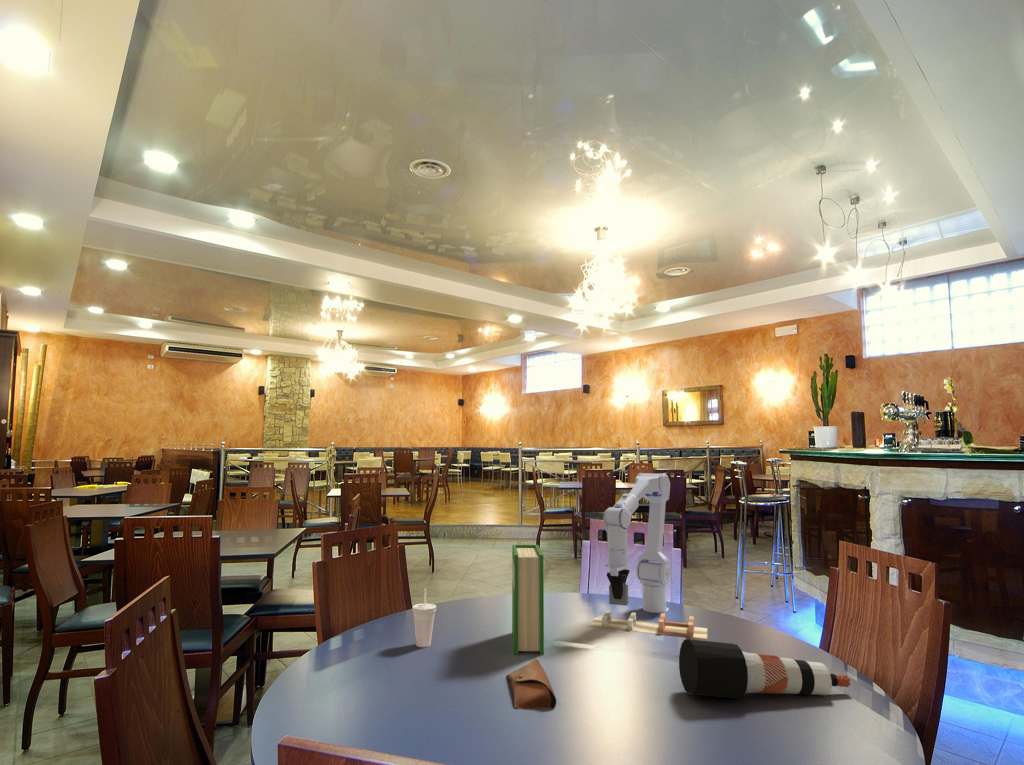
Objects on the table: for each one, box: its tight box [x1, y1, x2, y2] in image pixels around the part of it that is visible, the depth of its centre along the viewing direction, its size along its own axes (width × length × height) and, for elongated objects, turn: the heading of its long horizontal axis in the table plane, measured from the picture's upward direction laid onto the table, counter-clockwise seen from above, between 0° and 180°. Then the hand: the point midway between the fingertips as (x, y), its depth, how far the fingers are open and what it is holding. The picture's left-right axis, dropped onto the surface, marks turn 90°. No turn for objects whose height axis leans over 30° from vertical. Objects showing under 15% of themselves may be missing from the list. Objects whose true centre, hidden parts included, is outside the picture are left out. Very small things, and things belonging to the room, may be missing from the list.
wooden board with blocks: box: [588, 609, 708, 641], centre depth 154 cm, size 10×32×4 cm, turn 70°
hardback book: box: [511, 544, 545, 656], centre depth 145 cm, size 18×7×24 cm, turn 2°
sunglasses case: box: [505, 657, 557, 710], centre depth 114 cm, size 18×7×7 cm
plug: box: [608, 584, 630, 606], centre depth 158 cm, size 4×5×6 cm
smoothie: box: [411, 588, 437, 648], centre depth 143 cm, size 6×6×14 cm
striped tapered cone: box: [678, 638, 851, 699], centre depth 112 cm, size 10×34×10 cm, turn 94°
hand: (618, 597), depth 158 cm, fingers closed on plug, 4 cm apart
